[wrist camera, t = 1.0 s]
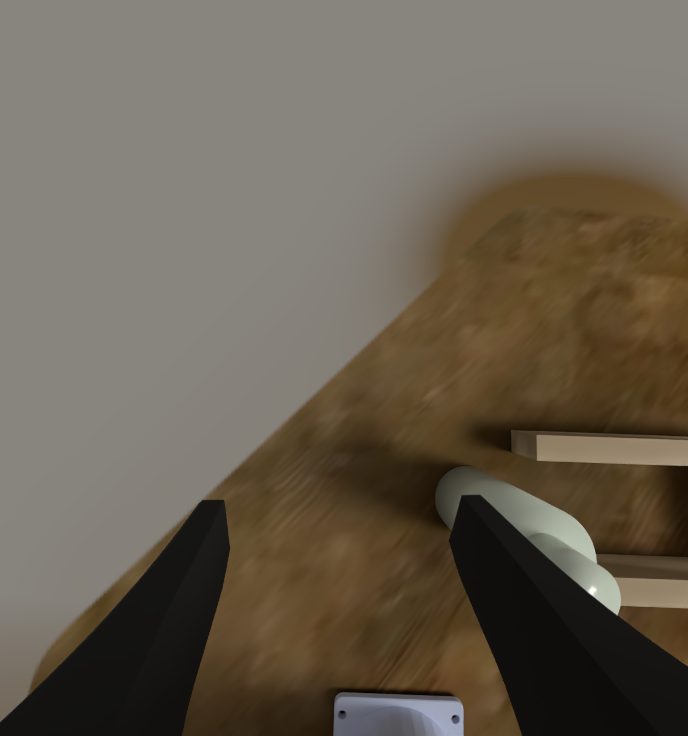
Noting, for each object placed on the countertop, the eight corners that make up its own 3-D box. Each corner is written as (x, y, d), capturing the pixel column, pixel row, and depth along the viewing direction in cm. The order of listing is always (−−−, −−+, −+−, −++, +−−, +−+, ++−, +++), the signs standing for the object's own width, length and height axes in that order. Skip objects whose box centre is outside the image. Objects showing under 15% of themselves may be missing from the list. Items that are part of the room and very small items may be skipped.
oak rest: (734, 582, 22) (797, 612, 19) (513, 574, 22) (540, 602, 19) (722, 437, 22) (780, 443, 19) (511, 430, 22) (536, 434, 20)
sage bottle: (500, 534, 22) (657, 669, 11) (434, 532, 22) (524, 664, 11) (499, 466, 22) (649, 531, 11) (434, 464, 22) (522, 527, 11)
